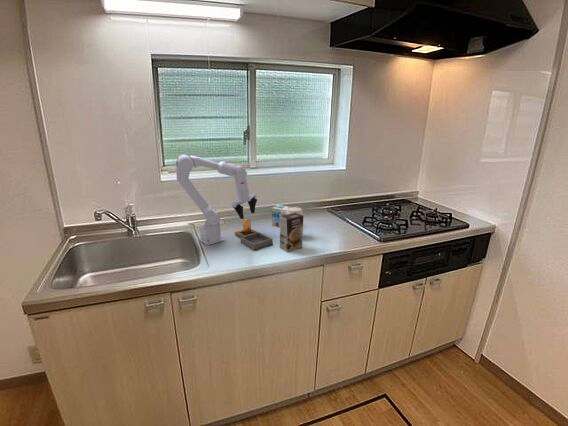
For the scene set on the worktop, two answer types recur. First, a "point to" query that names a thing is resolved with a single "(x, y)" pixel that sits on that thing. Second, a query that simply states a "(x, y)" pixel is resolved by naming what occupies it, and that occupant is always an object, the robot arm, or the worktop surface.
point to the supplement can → (294, 210)
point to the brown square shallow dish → (240, 234)
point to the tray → (256, 241)
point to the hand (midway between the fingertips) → (247, 215)
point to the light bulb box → (278, 214)
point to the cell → (246, 226)
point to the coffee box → (291, 231)
